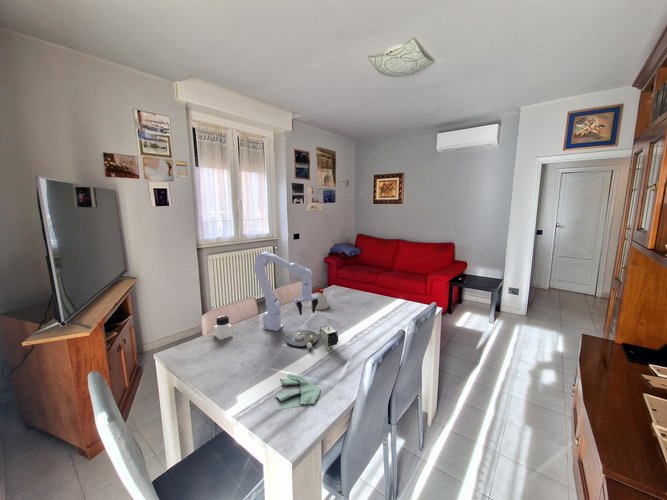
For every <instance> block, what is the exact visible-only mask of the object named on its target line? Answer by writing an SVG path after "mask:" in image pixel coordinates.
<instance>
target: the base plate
mask: <svg viewBox="0 0 667 500" xmlns="http://www.w3.org/2000/svg"><path fill="white" fill-rule="evenodd" d="M317 334H318V341H317V342H316V343H314V344H312V347H311V350H310V351H309V350H308V348H307V346H305V347H295V346H291V345H289V344H287V343H286V342H285V343H283V344H282V343H281V344H280V346H282V347H287V348H292V349H297V350H304V351H307V352H312V351H313V349H314V348H315V347H316V346H317V345H318V344H319V343H320V342H321V341H322V340H321V337H320V333H317Z"/></svg>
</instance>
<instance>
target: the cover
mask: <svg viewBox="0 0 667 500" xmlns="http://www.w3.org/2000/svg"><path fill="white" fill-rule="evenodd" d="M294 338H295V341H296V342H302V341H304V333H303V332H297V333H295V334H294Z"/></svg>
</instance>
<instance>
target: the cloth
mask: <svg viewBox="0 0 667 500" xmlns="http://www.w3.org/2000/svg"><path fill="white" fill-rule="evenodd" d="M286 377H287V378H284V379H283V378H280V379H279V381H280V382H281V386H282V387H284V386H285V387H286V386H287V387H292V386H299V389H300V390H297V391H295V390H294V391H288V392H283V393H280V394H277V395H276V396H275V398H278V400H279V402H280V403H279V406H278V407H277V408H276V410H281V409H282V410H284V409H291V408H292V409H293V408H298V407H303V406H306V404H307V405H311V404H312V405H315V404H316V401H317V400H318V398H319V396H320V395H321V388H320V387H318V386H317V385H315V384H314V383H313V382H312V381H310V380H308V379H307V378H304V377H303V376H298V375H296V374H292V373H287V375H286Z"/></svg>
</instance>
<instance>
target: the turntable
mask: <svg viewBox="0 0 667 500" xmlns="http://www.w3.org/2000/svg"><path fill="white" fill-rule="evenodd" d="M297 332H303V333H304V341H302V342H296V341H295V338H294V334H295V333H297ZM318 334H319V333H317V332H315V331H313V330H310V329H309V330H308V329H300V330H295V331H294V330H293V331H291V332H289V333H287V335H286V336H285V343H287V344H289V345H291V346H295V347H305V346H306V344H307V343H308V342H310V343H311V344H314V343H316V342H317V341H318Z"/></svg>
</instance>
